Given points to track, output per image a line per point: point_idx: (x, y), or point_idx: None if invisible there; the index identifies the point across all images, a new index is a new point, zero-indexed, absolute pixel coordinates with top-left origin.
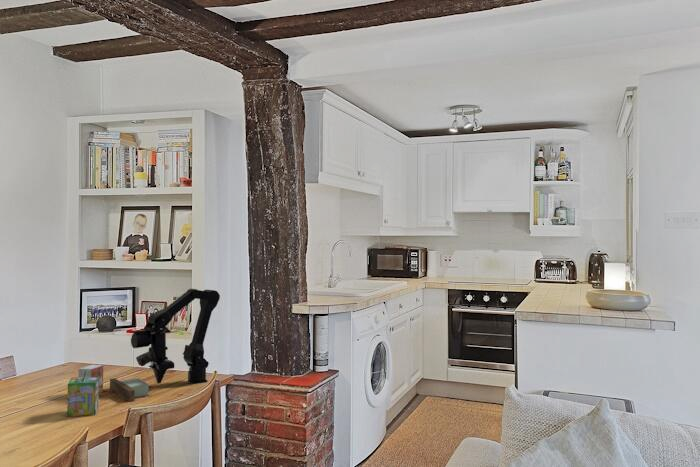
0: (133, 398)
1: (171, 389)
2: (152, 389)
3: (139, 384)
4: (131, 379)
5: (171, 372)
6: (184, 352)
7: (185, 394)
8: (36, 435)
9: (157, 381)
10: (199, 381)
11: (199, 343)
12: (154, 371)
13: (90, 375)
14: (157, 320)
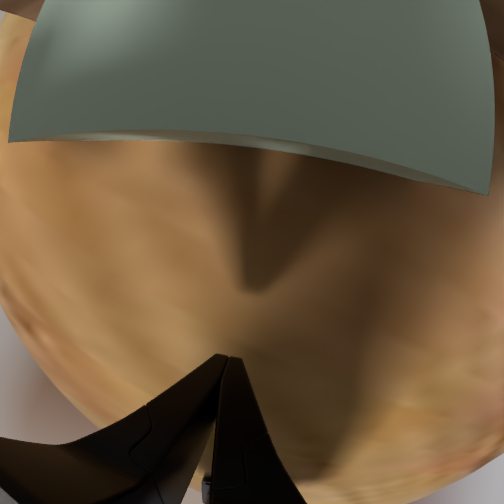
0: (36, 15)
1: (150, 372)
2: (265, 275)
3: (64, 33)
4: (486, 73)
5: (478, 461)
6: None
7: (20, 332)
8: None
9: (210, 365)
10: (206, 493)
11: None
12: (239, 487)
13: None
14: None
